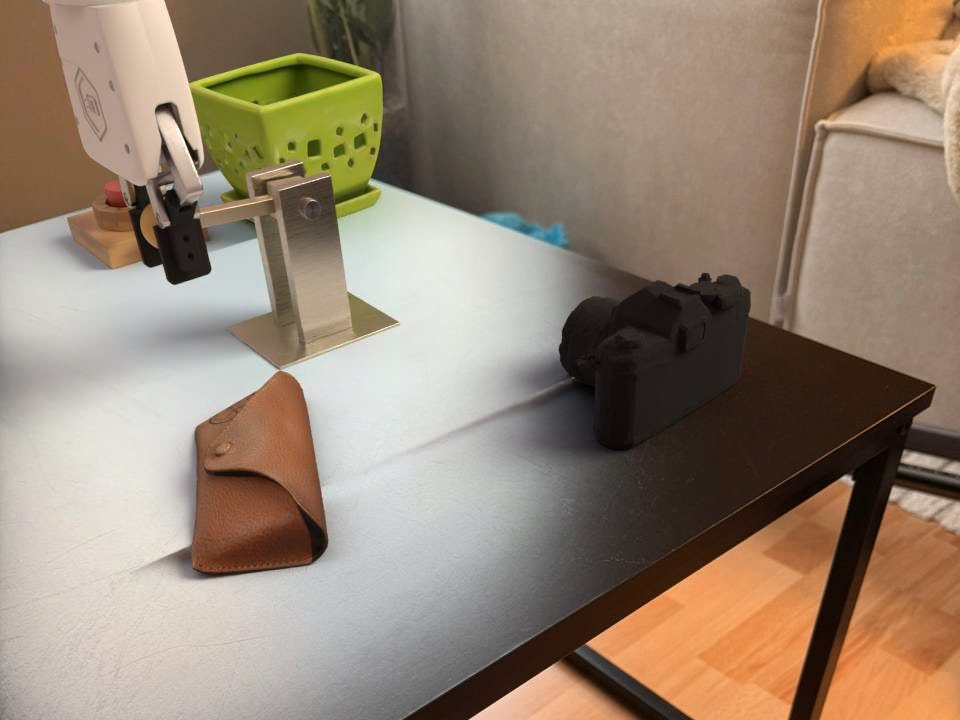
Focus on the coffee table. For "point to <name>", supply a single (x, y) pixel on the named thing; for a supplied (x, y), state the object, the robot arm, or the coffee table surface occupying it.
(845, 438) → the coffee table surface
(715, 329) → the film camera
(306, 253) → the switch bracket
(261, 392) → the sunglasses case
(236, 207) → the switch lever
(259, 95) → the flower pot
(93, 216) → the button block
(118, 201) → the button
